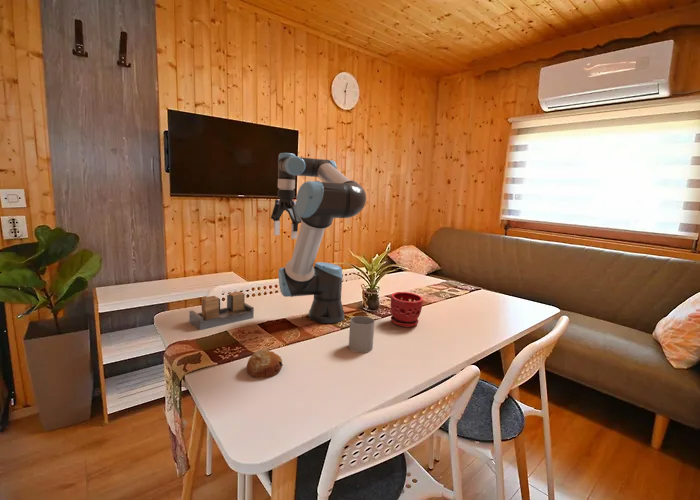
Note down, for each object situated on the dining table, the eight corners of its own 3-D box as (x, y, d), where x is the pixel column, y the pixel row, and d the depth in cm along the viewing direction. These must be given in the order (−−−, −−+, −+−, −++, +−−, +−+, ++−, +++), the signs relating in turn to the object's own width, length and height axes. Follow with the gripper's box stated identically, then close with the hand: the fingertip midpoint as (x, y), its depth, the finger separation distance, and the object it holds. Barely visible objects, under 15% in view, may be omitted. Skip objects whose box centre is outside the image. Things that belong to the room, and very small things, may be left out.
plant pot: (382, 322, 152) (384, 295, 150) (400, 316, 162) (403, 290, 160) (409, 332, 143) (411, 302, 142) (426, 324, 153) (429, 297, 151)
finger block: (220, 317, 142) (220, 297, 141) (206, 320, 138) (205, 300, 137) (216, 314, 145) (216, 295, 144) (201, 317, 141) (201, 297, 140)
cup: (370, 354, 122) (372, 325, 120) (346, 350, 124) (348, 322, 122) (374, 344, 130) (375, 317, 128) (351, 341, 132) (353, 314, 130)
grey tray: (253, 317, 149) (253, 294, 148) (200, 330, 134) (199, 304, 132) (241, 311, 156) (241, 288, 155) (189, 322, 141) (189, 297, 139)
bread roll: (256, 373, 113) (245, 351, 111) (286, 360, 113) (276, 338, 111) (250, 390, 103) (238, 366, 102) (283, 376, 103) (272, 352, 102)
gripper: (310, 190, 154) (308, 240, 158) (277, 188, 172) (276, 233, 175) (296, 189, 149) (294, 241, 152) (263, 187, 166) (263, 233, 170)
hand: (285, 236), depth 164 cm, fingers open, 13 cm apart
